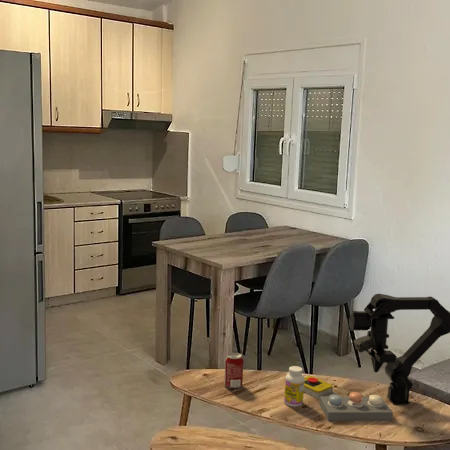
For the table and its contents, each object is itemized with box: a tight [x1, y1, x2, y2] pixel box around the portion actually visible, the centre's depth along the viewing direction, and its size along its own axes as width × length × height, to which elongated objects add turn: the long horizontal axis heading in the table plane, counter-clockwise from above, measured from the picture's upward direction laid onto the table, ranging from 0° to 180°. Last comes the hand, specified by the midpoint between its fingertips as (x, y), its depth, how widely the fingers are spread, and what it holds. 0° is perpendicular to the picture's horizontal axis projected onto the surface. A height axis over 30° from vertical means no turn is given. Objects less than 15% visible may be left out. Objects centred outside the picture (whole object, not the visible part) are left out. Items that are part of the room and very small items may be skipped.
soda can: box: [223, 352, 244, 390], centre depth 217 cm, size 7×7×12 cm
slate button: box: [329, 394, 343, 405], centre depth 199 cm, size 4×4×2 cm
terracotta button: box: [348, 391, 364, 403], centre depth 200 cm, size 4×4×2 cm
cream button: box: [369, 394, 383, 405], centre depth 201 cm, size 4×4×2 cm
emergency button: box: [304, 375, 338, 400], centre depth 217 cm, size 9×4×15 cm
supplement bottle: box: [283, 365, 305, 408], centre depth 205 cm, size 7×7×13 cm
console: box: [318, 395, 394, 422], centre depth 200 cm, size 22×12×3 cm, turn 95°
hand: (375, 372), depth 209 cm, fingers closed
